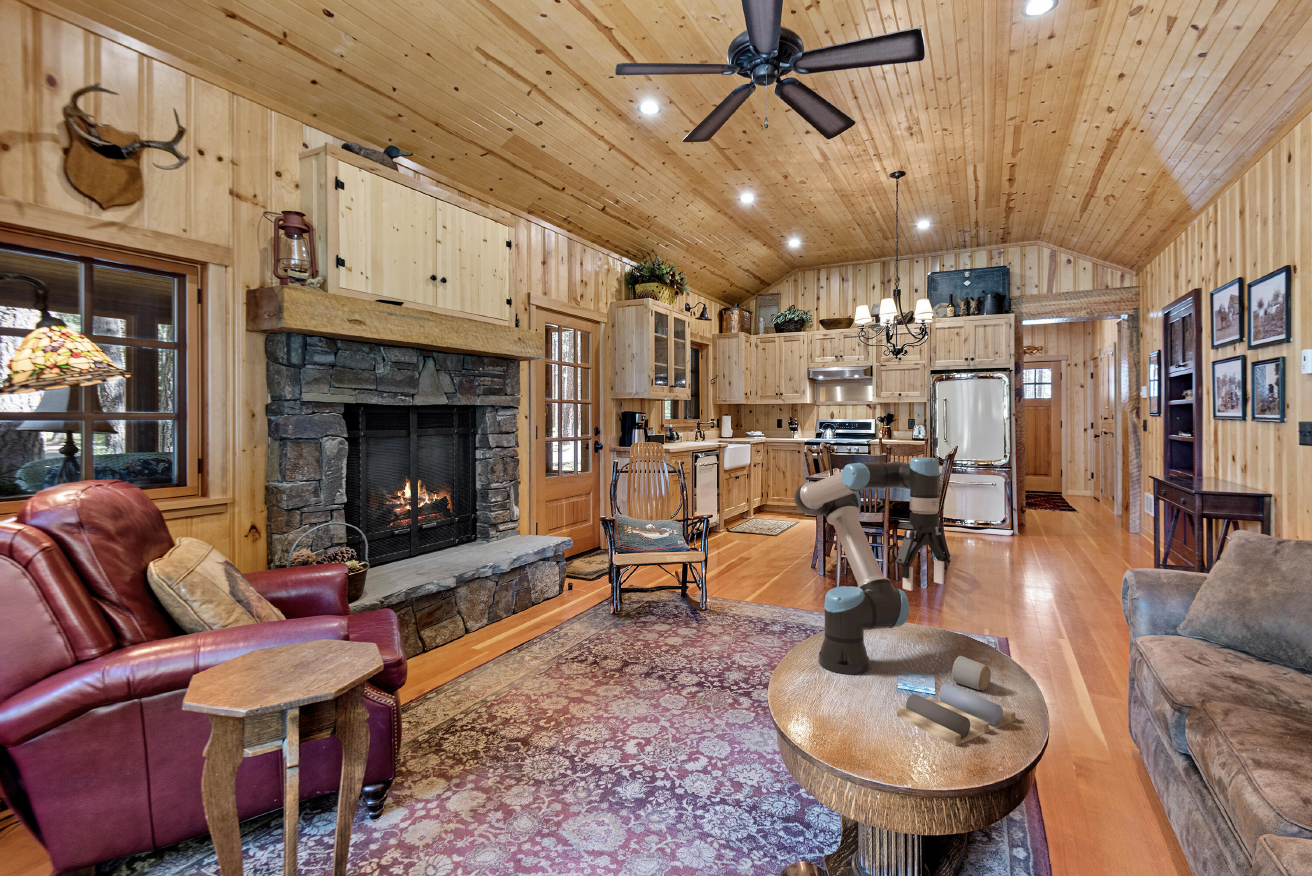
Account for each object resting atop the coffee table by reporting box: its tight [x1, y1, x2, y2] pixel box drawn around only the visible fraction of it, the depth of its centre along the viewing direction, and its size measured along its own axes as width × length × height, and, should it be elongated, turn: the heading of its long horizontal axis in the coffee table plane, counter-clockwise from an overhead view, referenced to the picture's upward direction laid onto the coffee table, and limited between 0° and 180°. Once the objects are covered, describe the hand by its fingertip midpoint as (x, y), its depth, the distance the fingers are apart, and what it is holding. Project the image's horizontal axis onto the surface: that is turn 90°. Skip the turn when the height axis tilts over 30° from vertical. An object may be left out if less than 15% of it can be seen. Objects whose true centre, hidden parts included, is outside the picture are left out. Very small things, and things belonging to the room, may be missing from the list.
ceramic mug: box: [951, 655, 992, 691], centre depth 171 cm, size 11×8×8 cm
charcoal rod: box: [905, 693, 970, 739], centre depth 146 cm, size 14×5×5 cm, turn 29°
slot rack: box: [896, 696, 1016, 747], centre depth 150 cm, size 16×24×3 cm, turn 119°
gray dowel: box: [938, 683, 1003, 726], centre depth 152 cm, size 14×5×5 cm, turn 29°
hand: (923, 586), depth 169 cm, fingers open, 13 cm apart
